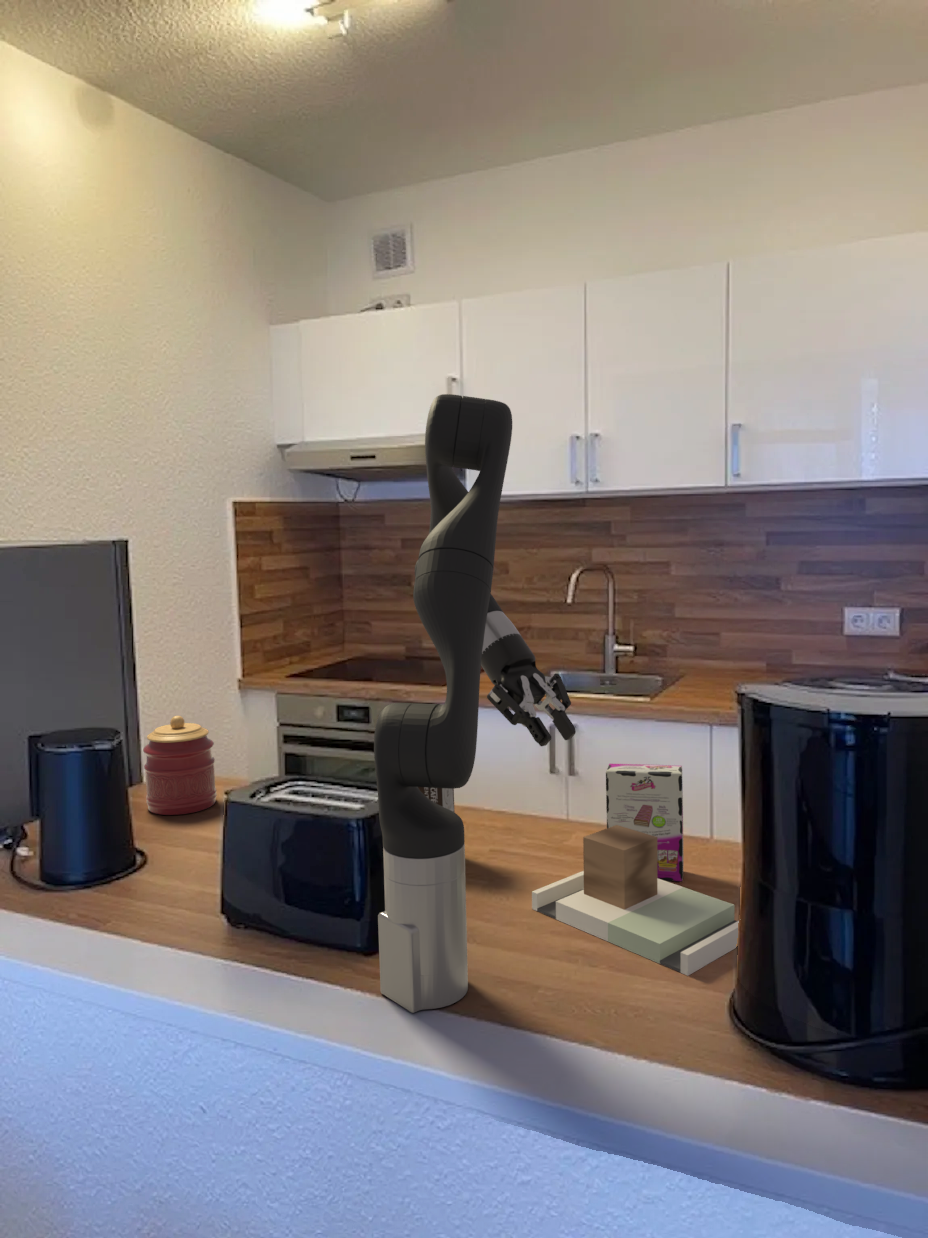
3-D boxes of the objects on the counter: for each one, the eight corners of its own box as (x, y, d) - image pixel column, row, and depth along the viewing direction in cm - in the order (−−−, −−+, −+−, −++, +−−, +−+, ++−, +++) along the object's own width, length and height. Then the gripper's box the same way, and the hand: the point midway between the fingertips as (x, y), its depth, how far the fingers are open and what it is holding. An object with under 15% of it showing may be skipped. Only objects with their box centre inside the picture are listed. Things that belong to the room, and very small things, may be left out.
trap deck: (687, 975, 106) (687, 955, 106) (532, 909, 125) (531, 891, 125) (761, 932, 117) (762, 914, 116) (607, 877, 136) (607, 861, 135)
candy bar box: (683, 870, 138) (683, 764, 136) (683, 883, 133) (683, 773, 131) (609, 865, 141) (608, 761, 139) (606, 877, 136) (605, 770, 134)
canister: (200, 791, 185) (195, 706, 183) (228, 805, 175) (223, 715, 173) (136, 805, 176) (130, 716, 175) (162, 821, 167) (156, 726, 165)
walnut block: (624, 909, 119) (624, 850, 118) (583, 894, 124) (583, 837, 123) (657, 894, 123) (657, 837, 122) (617, 879, 128) (616, 825, 128)
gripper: (475, 637, 131) (537, 733, 123) (544, 627, 140) (606, 716, 132) (452, 669, 135) (510, 764, 127) (521, 658, 144) (579, 746, 137)
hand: (558, 739), depth 130 cm, fingers open, 4 cm apart
